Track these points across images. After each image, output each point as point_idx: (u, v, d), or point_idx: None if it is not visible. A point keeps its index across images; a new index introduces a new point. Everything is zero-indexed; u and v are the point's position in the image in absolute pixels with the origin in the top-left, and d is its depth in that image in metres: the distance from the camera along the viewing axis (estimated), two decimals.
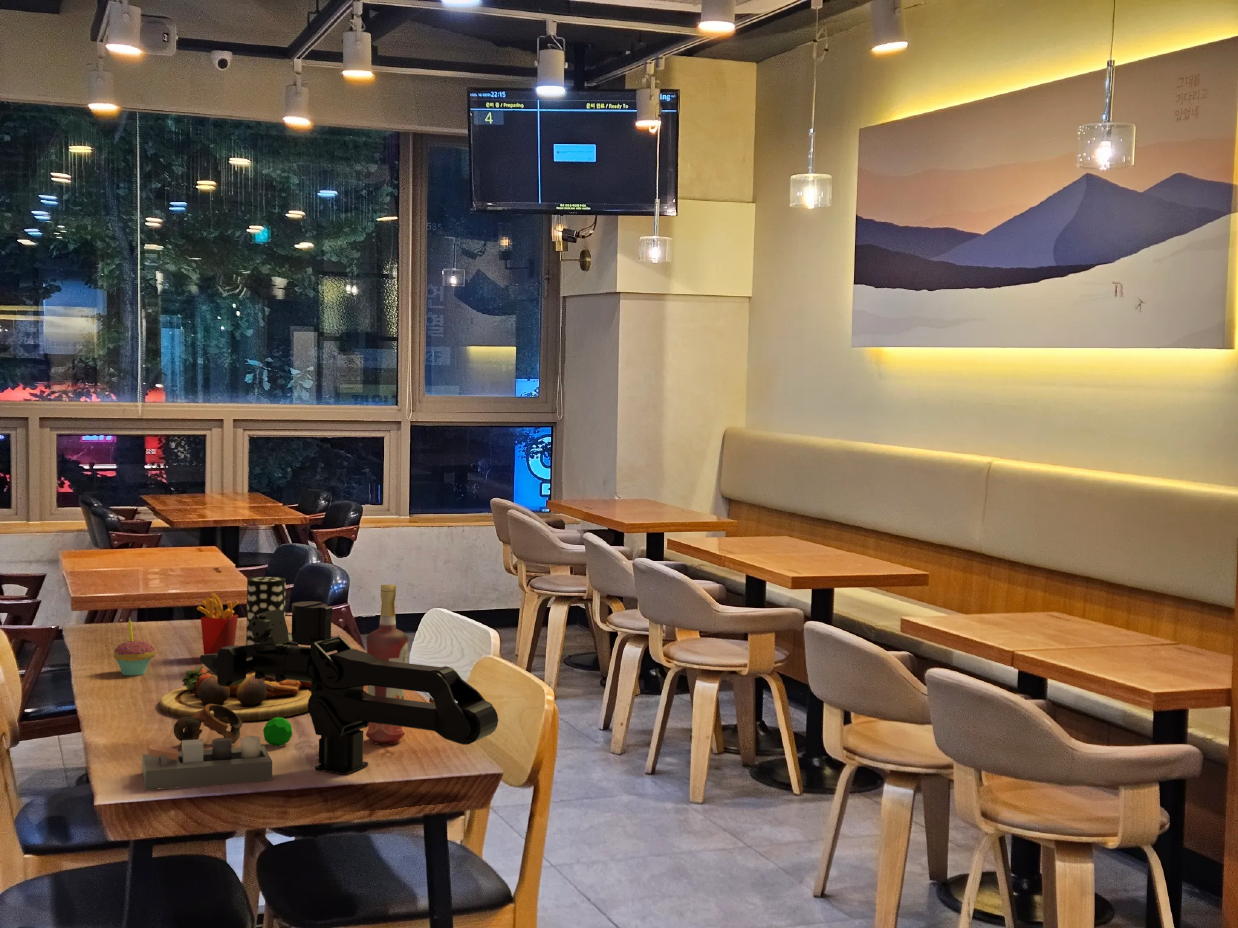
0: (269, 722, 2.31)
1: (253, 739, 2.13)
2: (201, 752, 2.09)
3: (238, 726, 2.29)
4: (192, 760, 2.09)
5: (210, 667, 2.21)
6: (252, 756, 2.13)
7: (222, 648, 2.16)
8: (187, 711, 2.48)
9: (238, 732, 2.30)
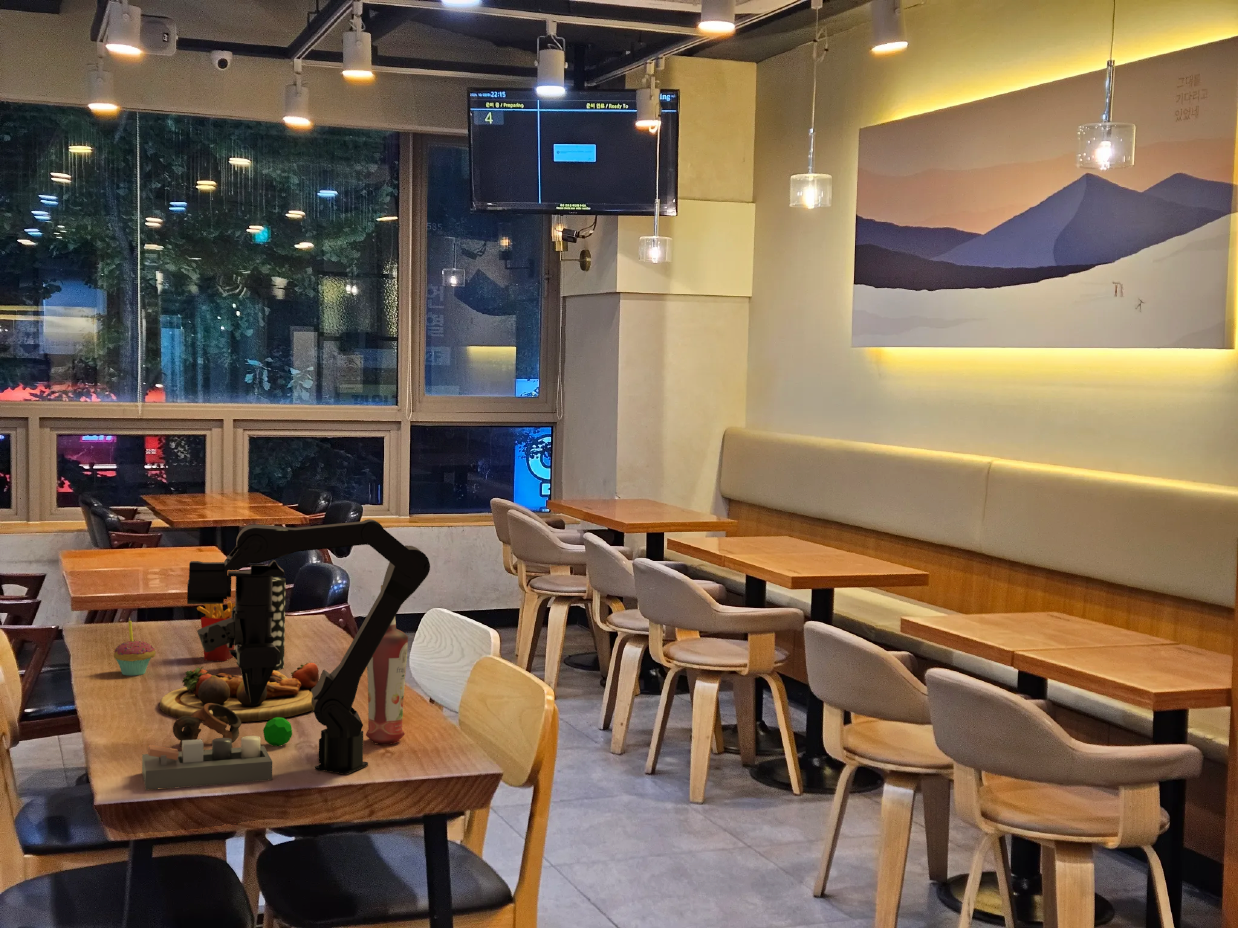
0: (269, 722, 2.31)
1: (253, 739, 2.13)
2: (201, 752, 2.09)
3: (237, 725, 2.29)
4: (192, 760, 2.09)
5: (262, 686, 2.10)
6: (252, 756, 2.13)
7: (239, 662, 2.04)
8: (187, 712, 2.48)
9: (237, 731, 2.30)
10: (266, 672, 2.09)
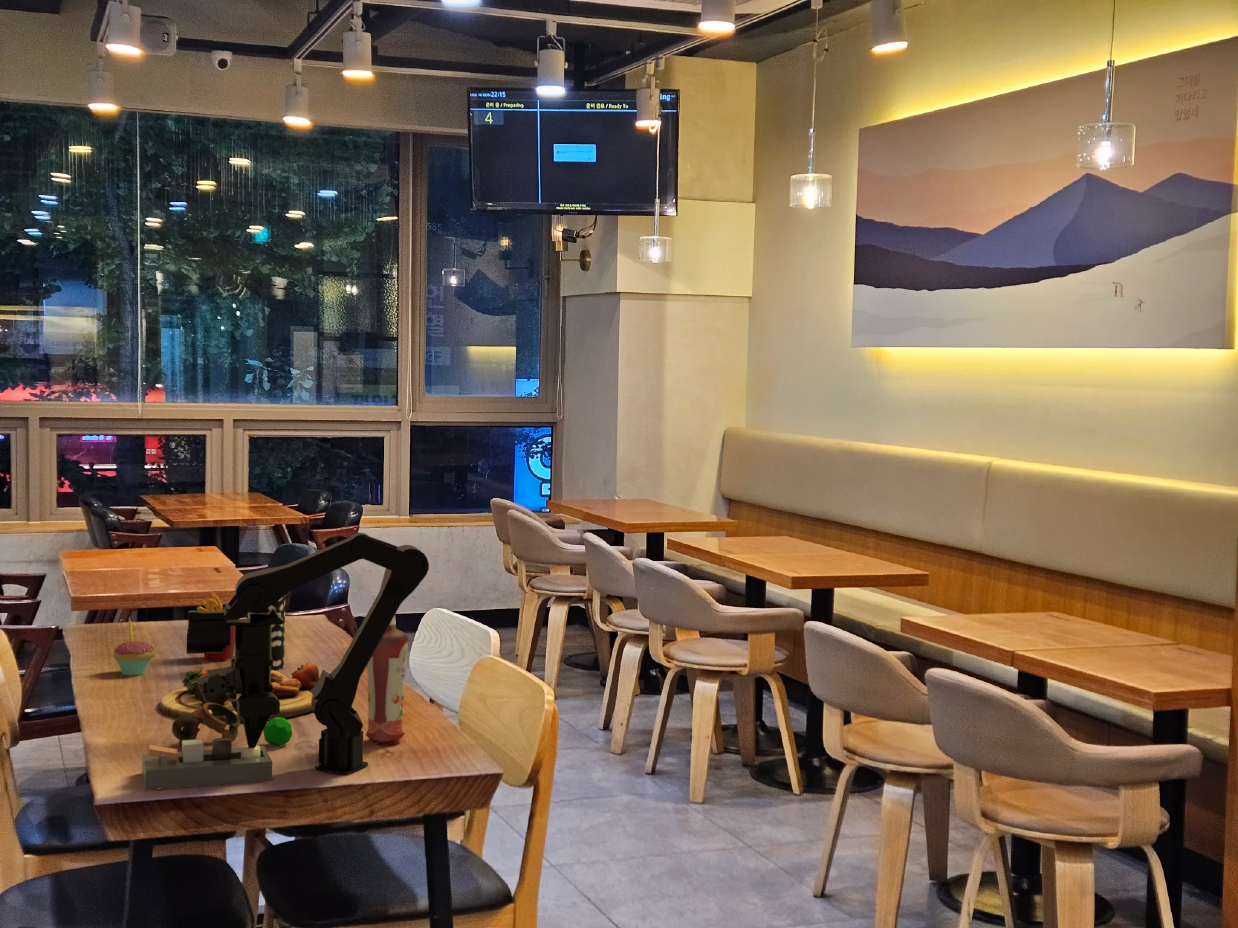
0: (269, 722, 2.31)
1: (253, 748, 2.13)
2: (201, 752, 2.09)
3: (236, 725, 2.30)
4: (192, 760, 2.09)
5: (260, 730, 2.13)
6: None
7: (239, 712, 2.04)
8: (187, 712, 2.47)
9: (236, 731, 2.31)
10: (263, 716, 2.12)
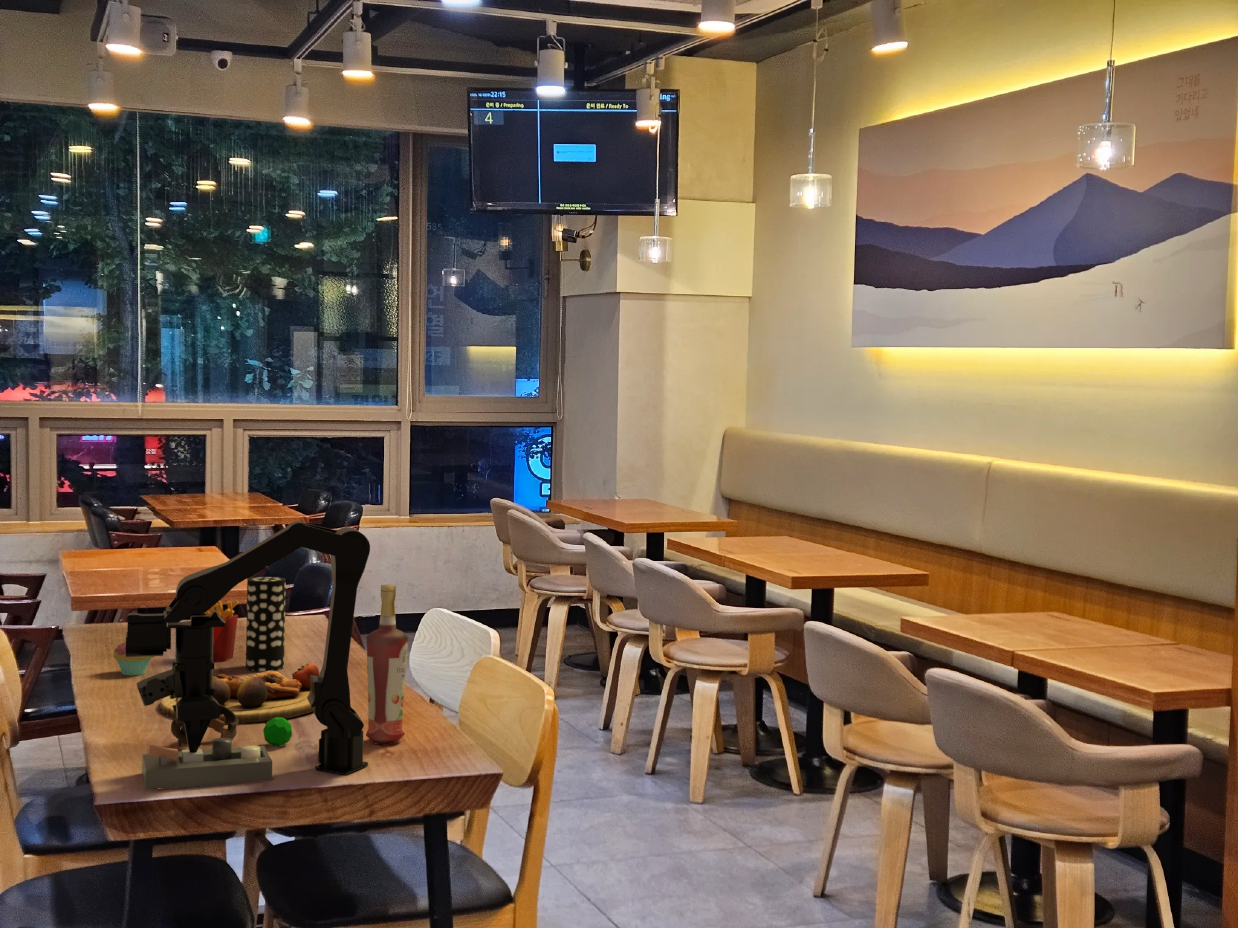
0: (269, 722, 2.31)
1: (253, 749, 2.13)
2: (201, 761, 2.10)
3: (235, 724, 2.30)
4: None
5: (201, 735, 2.10)
6: None
7: (177, 717, 2.01)
8: None
9: (235, 730, 2.31)
10: (204, 720, 2.09)
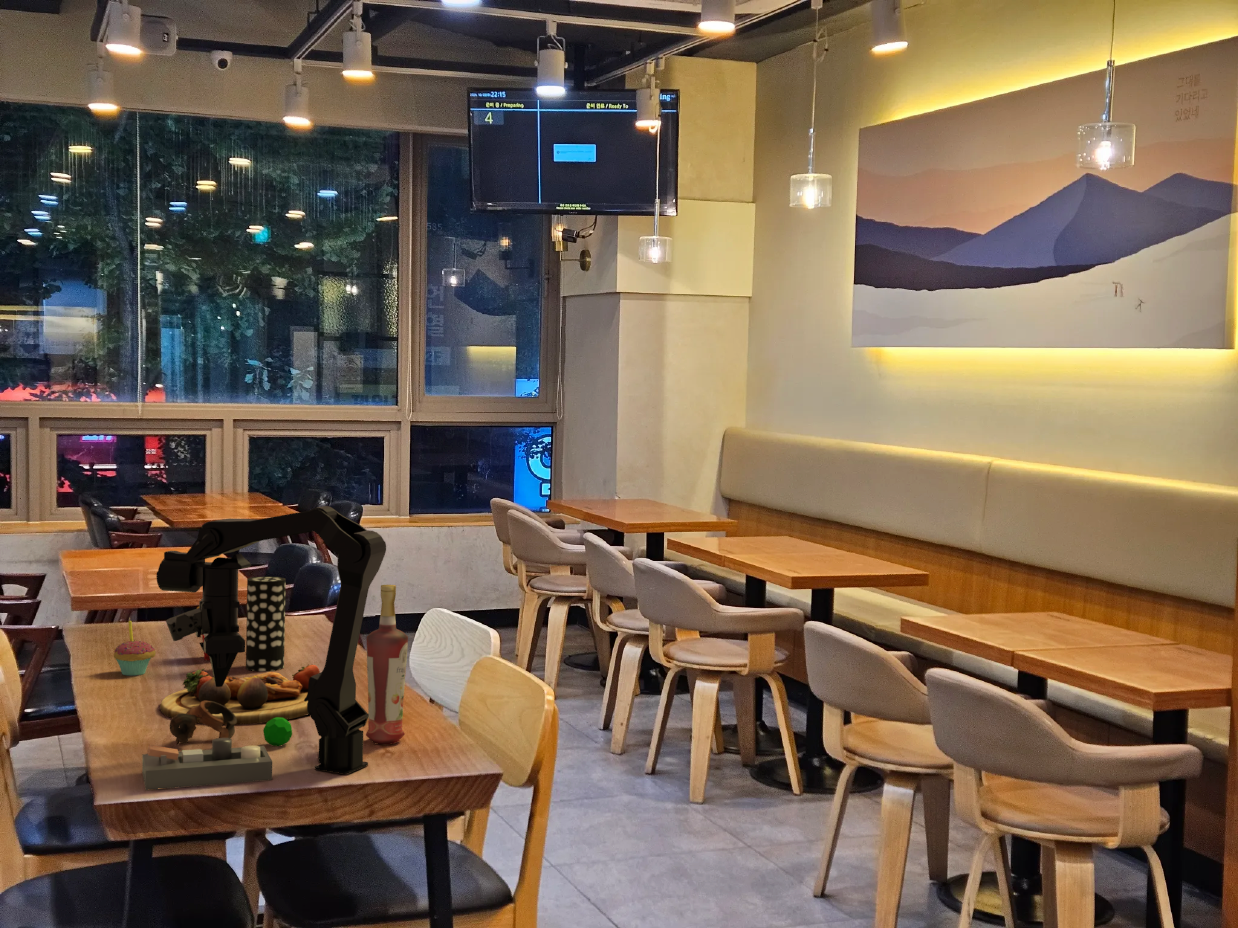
0: (269, 722, 2.31)
1: (253, 749, 2.13)
2: None
3: (233, 722, 2.31)
4: None
5: (226, 670, 2.21)
6: None
7: (205, 650, 2.13)
8: None
9: (233, 728, 2.32)
10: (230, 656, 2.21)
